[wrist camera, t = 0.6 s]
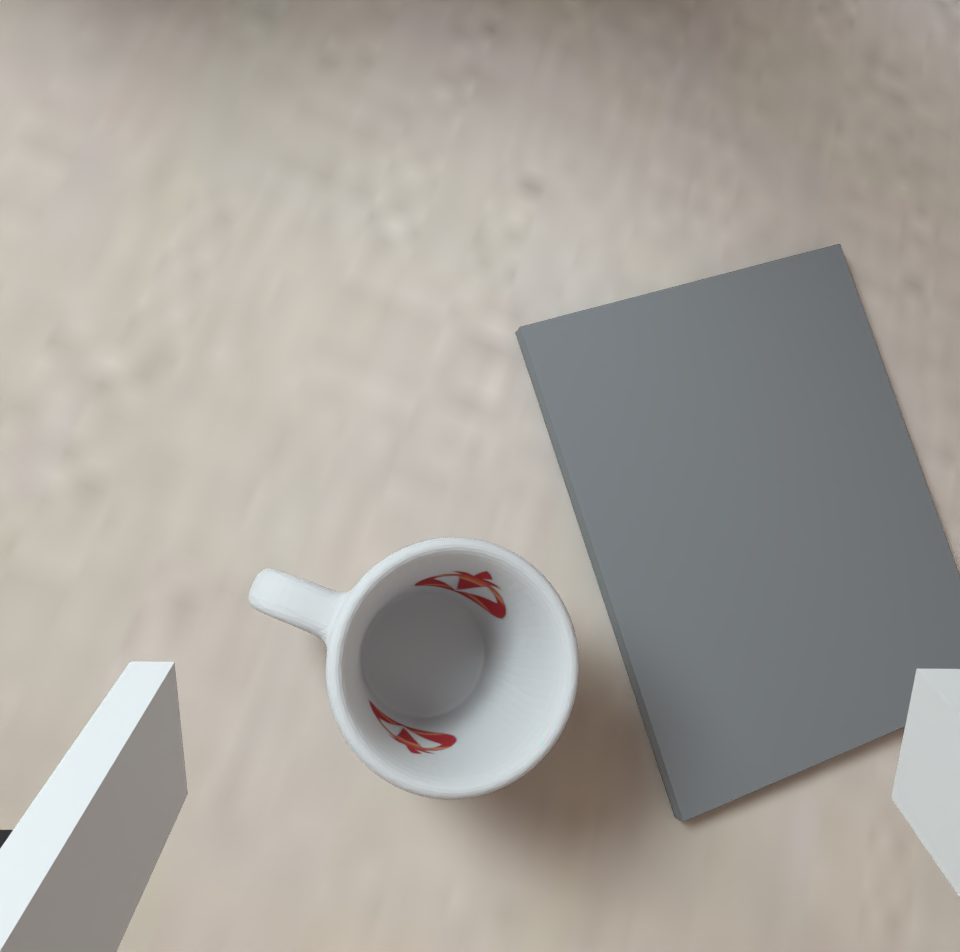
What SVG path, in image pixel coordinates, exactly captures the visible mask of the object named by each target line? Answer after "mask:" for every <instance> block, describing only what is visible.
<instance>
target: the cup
mask: <svg viewBox="0 0 960 952" xmlns="http://www.w3.org/2000/svg"><path fill="white" fill-rule="evenodd" d="M248 600H249V604H250V605H251V607H253V608H254V609H256V610H258V611H260V612H262V613H264V614H267V615H269V616H271V617H274V618H276V619H278V620H281V621H283V622H285V623H288V624H290V625H293V626H295V627H297V628H300V629H302V630H304V631H307V632H309V633H312V634H314V635H316V636H317V637H319V638H321V639H322V640H323V641H324V642H325V644H326V648H327V656H326V683H327V691H328V697H329V701H330V705H331V709H332V712H333V715H334V718H335V720H336V723H337V725H338V727H339V729H340V731H341V733H342V735H343V737H344V738H345V740H346V742H347V743H348V745H349V746H350V748H351V749H352V750H353V752H354V753H355V754H356V755H357V756H358V758H359V759H360V760H361V761H362V762H363V763H364V764H365V765H366V766H367V767H368V768H369V769H371V770H372V771H373V772H374V773H375V774H377V775H378V776H380V777H381V778H382V779H384V780H385V781H387V782H389V783H391V784H392V785H394V786H396V787H398V788H400V789H403V790H405V791H407V792H410V793H414V794H417V795H420V796H424V797H429V798H435V799H465V798H473V797H477V796H482V795H485V794H488V793H491V792H494V791H497V790H499V789H501V788H503V787H506V786H508V785H509V784H511V783H513V782H515V781H516V780H518V779H520V778H521V777H522V776H524V775H525V774H527V773H528V772H529V771H530V770H532V769H533V768H534V767H535V766H536V765H537V764H538V763H539V762H540V761H541V760H542V759H543V758H544V757H545V756H546V755H547V754H548V752H549V751H550V750H551V748H552V747H553V746H554V745H555V743H556V741H557V740H558V738H559V737H560V735H561V733H562V732H563V730H564V728H565V726H566V724H567V721H568V719H569V717H570V714H571V711H572V709H573V705H574V702H575V698H576V693H577V688H578V679H579V652H578V645H577V639H576V635H575V631H574V627H573V624H572V621H571V619H570V616H569V613H568V611H567V609H566V607H565V605H564V603H563V601H562V600H561V598H560V596H559V595H558V593H557V592H556V590H555V589H554V587H553V586H552V585H551V584H550V582H549V581H548V580H547V579H546V578H545V576H544V575H542V574H541V573H540V572H539V571H538V570H537V569H536V568H535V567H534V566H533V565H531V564H530V563H529V562H528V561H526V560H525V559H524V558H522V557H520V556H519V555H517V554H515V553H514V552H512V551H510V550H508V549H506V548H503V547H501V546H499V545H496V544H493V543H490V542H487V541H482V540H478V539H472V538H464V537H445V538H437V539H431V540H427V541H422V542H419V543H416V544H413V545H410V546H407V547H405V548H403V549H401V550H399V551H397V552H395V553H393V554H391V555H390V556H388V557H387V558H385V559H384V560H382V561H381V562H379V563H378V564H377V565H375V566H374V567H373V568H372V569H371V570H370V571H369V572H367V573H366V574H365V575H364V576H363V578H362V579H361V580H360V581H359V582H358V583H357V584H356V586H355V587H354V588H353V589H352V590H350V591H348V592H342V593H340V592H336V591H333V590H330V589H328V588H325V587H323V586H320V585H317V584H315V583H312V582H310V581H307V580H304V579H302V578H299V577H296V576H294V575H291V574H288V573H285V572H282V571H279V570H275V569H271V568H268V569H264V570H262V571H261V572H260V573H259V574H258V575H257V577H256V579H255V581H254V583H253V584H252V586H251V589H250V592H249V597H248Z"/></svg>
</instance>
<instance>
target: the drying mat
mask: <svg viewBox="0 0 960 952" xmlns="http://www.w3.org/2000/svg"><path fill="white" fill-rule="evenodd" d="M516 336H517V339H518V342H519V345H520V348H521V351H522V354H523V357H524V360H525V363H526V366H527V369H528V372H529V375H530V378H531V381H532V384H533V387H534V390H535V393H536V396H537V399H538V402H539V405H540V408H541V411H542V415H543V418H544V421H545V424H546V427H547V430H548V433H549V436H550V439H551V442H552V445H553V448H554V451H555V454H556V457H557V460H558V463H559V466H560V469H561V472H562V475H563V478H564V481H565V484H566V487H567V490H568V493H569V496H570V500H571V503H572V506H573V509H574V512H575V515H576V518H577V521H578V524H579V527H580V530H581V533H582V536H583V539H584V542H585V545H586V548H587V551H588V554H589V557H590V560H591V563H592V566H593V569H594V572H595V575H596V578H597V581H598V585H599V588H600V591H601V594H602V597H603V600H604V603H605V606H606V609H607V612H608V615H609V618H610V621H611V624H612V627H613V630H614V633H615V636H616V639H617V642H618V645H619V648H620V651H621V654H622V657H623V660H624V663H625V667H626V670H627V673H628V676H629V679H630V682H631V685H632V688H633V691H634V694H635V697H636V700H637V703H638V706H639V709H640V712H641V715H642V718H643V721H644V724H645V727H646V730H647V733H648V736H649V739H650V742H651V745H652V748H653V752H654V755H655V758H656V761H657V764H658V767H659V770H660V773H661V776H662V779H663V782H664V785H665V788H666V791H667V794H668V797H669V800H670V803H671V806H672V809H673V812H674V815H675V817H676V818H678V819H680V820H681V821H683V822H684V821H686V820H689V819H691V818H693V817H696V816H698V815H700V814H703V813H705V812H707V811H710V810H712V809H714V808H717V807H719V806H721V805H723V804H726V803H728V802H730V801H733V800H735V799H737V798H740V797H742V796H744V795H747V794H749V793H751V792H754V791H756V790H758V789H761V788H763V787H765V786H768V785H770V784H772V783H775V782H777V781H779V780H782V779H784V778H786V777H789V776H791V775H793V774H796V773H798V772H800V771H802V770H805V769H807V768H809V767H812V766H814V765H816V764H819V763H821V762H823V761H826V760H828V759H830V758H833V757H835V756H837V755H840V754H842V753H844V752H847V751H849V750H851V749H854V748H856V747H858V746H861V745H863V744H865V743H868V742H870V741H872V740H875V739H877V738H879V737H881V736H884V735H886V734H888V733H891V732H893V731H895V730H898V729H900V728H902V727H905V725H906V720H907V715H908V710H909V705H910V699H911V694H912V689H913V684H914V679H915V674H916V669H960V575H959V572H958V570H957V567H956V564H955V561H954V559H953V556H952V553H951V550H950V548H949V545H948V542H947V539H946V536H945V534H944V531H943V528H942V525H941V523H940V520H939V517H938V514H937V512H936V509H935V506H934V503H933V500H932V498H931V495H930V492H929V489H928V487H927V484H926V481H925V478H924V475H923V473H922V470H921V467H920V464H919V462H918V459H917V456H916V453H915V451H914V448H913V445H912V442H911V439H910V437H909V434H908V431H907V428H906V426H905V423H904V420H903V417H902V415H901V412H900V409H899V406H898V403H897V401H896V398H895V395H894V392H893V390H892V387H891V384H890V381H889V378H888V376H887V373H886V370H885V367H884V365H883V362H882V359H881V356H880V354H879V351H878V348H877V345H876V342H875V340H874V337H873V334H872V331H871V329H870V326H869V323H868V320H867V318H866V315H865V312H864V309H863V306H862V304H861V301H860V298H859V295H858V293H857V290H856V287H855V284H854V281H853V279H852V276H851V273H850V270H849V268H848V265H847V262H846V259H845V257H844V254H843V251H842V248H841V245H840V244H837V245H833V246H829V247H825V248H821V249H817V250H814V251H810V252H806V253H802V254H798V255H794V256H791V257H787V258H783V259H779V260H775V261H771V262H768V263H764V264H760V265H756V266H752V267H748V268H744V269H741V270H737V271H733V272H729V273H725V274H721V275H718V276H714V277H710V278H706V279H702V280H698V281H695V282H691V283H687V284H683V285H679V286H675V287H671V288H668V289H664V290H660V291H656V292H652V293H648V294H645V295H641V296H637V297H633V298H629V299H625V300H622V301H618V302H614V303H610V304H606V305H602V306H598V307H595V308H591V309H587V310H583V311H579V312H575V313H572V314H568V315H564V316H560V317H556V318H552V319H549V320H545V321H541V322H537V323H533V324H529V325H525V326H522V327H520V328H519V329H518V330H517V331H516Z"/></svg>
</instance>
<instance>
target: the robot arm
mask: <svg viewBox="0 0 960 952" xmlns="http://www.w3.org/2000/svg"><path fill="white" fill-rule="evenodd" d="M187 794H188V792H187V782H186V772H185V762H184V752H183V742H182V732H181V722H180V712H179V702H178V692H177V682H176V672H175V662H130V663H129V664H128V666H127V667H126V669H125V670H124V671H123V673H122V674H121V676H120V677H119V679H118V680H117V682H116V683H115V684H114V686H113V687H112V689H111V690H110V692H109V693H108V694H107V696H106V697H105V699H104V700H103V702H102V703H101V705H100V706H99V707H98V709H97V710H96V712H95V713H94V715H93V716H92V717H91V719H90V720H89V722H88V723H87V725H86V726H85V728H84V729H83V730H82V732H81V733H80V735H79V736H78V738H77V739H76V740H75V742H74V743H73V745H72V746H71V748H70V749H69V751H68V752H67V753H66V755H65V756H64V758H63V759H62V761H61V762H60V764H59V765H58V766H57V768H56V769H55V771H54V772H53V774H52V775H51V776H50V778H49V779H48V781H47V782H46V784H45V785H44V787H43V788H42V789H41V791H40V792H39V794H38V795H37V797H36V798H35V799H34V801H33V802H32V804H31V805H30V807H29V808H28V810H27V811H26V812H25V814H24V815H23V817H22V818H21V820H20V821H19V822H18V824H17V825H16V827H15V828H14V830H0V952H116V951H117V949H118V947H119V945H120V942H121V940H122V938H123V936H124V934H125V931H126V929H127V927H128V925H129V923H130V920H131V918H132V916H133V914H134V911H135V909H136V907H137V905H138V903H139V900H140V898H141V896H142V894H143V892H144V889H145V887H146V885H147V883H148V881H149V878H150V876H151V874H152V872H153V869H154V867H155V865H156V863H157V861H158V858H159V856H160V854H161V852H162V850H163V847H164V845H165V843H166V841H167V838H168V836H169V834H170V832H171V830H172V827H173V825H174V823H175V821H176V819H177V816H178V814H179V812H180V810H181V808H182V805H183V803H184V801H185V799H186V796H187ZM891 798H892V800H893V801H894V803H895V804H896V806H897V807H898V809H899V810H900V811H901V813H902V814H903V816H904V817H905V819H906V820H907V822H908V823H909V824H910V826H911V827H912V829H913V830H914V832H915V833H916V835H917V836H918V838H919V839H920V840H921V842H922V843H923V845H924V846H925V848H926V849H927V851H928V852H929V854H930V855H931V856H932V858H933V859H934V861H935V862H936V864H937V865H938V867H939V868H940V869H941V871H942V872H943V874H944V875H945V877H946V878H947V880H948V881H949V883H950V884H951V885H952V887H953V888H954V890H955V891H956V893H957V894H958V896H959V897H960V669H916V674H915V679H914V684H913V689H912V694H911V699H910V705H909V710H908V715H907V720H906V725H905V730H904V735H903V740H902V745H901V750H900V755H899V761H898V766H897V771H896V776H895V781H894V786H893V791H892V796H891Z"/></svg>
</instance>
